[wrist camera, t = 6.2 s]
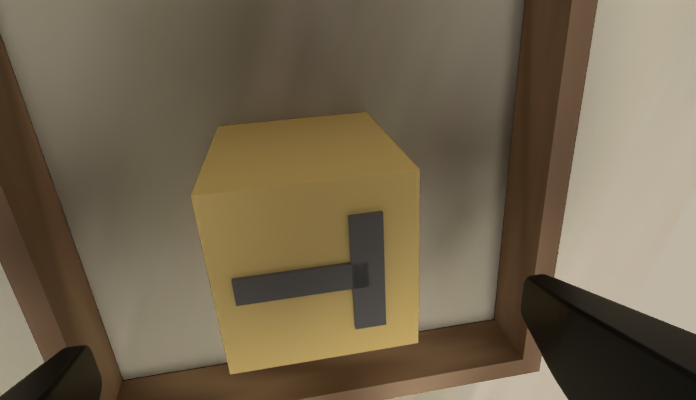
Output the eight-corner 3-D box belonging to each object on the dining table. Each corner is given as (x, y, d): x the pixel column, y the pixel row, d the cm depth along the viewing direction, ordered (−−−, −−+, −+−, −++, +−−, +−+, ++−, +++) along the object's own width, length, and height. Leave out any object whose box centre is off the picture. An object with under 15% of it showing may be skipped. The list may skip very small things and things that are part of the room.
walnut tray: (107, 398, 18) (85, 454, 16) (-72, -69, 11) (-155, -88, 9) (509, 330, 21) (539, 371, 18) (558, -93, 14) (615, -113, 12)
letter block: (241, 255, 17) (229, 378, 11) (218, 125, 15) (189, 198, 9) (371, 237, 17) (419, 346, 12) (365, 111, 15) (421, 171, 10)
